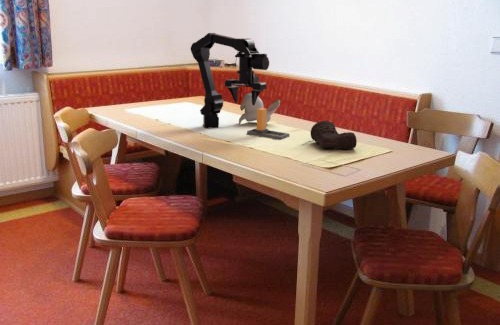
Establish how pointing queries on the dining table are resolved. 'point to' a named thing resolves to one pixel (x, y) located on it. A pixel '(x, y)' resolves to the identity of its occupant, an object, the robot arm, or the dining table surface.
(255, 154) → the dining table surface
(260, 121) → the breaker toggle
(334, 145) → the dark brown bent piece
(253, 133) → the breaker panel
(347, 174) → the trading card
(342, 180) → the dining table surface
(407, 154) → the dining table surface
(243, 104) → the toy
